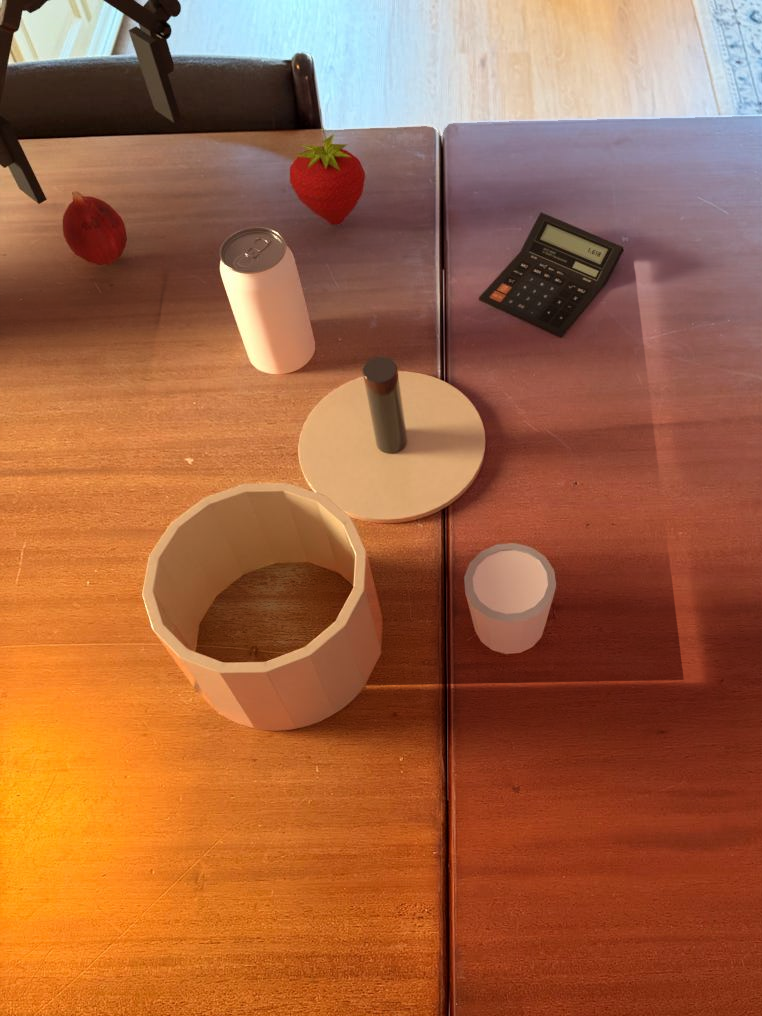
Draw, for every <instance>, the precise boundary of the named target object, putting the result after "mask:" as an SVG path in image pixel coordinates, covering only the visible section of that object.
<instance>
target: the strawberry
mask: <svg viewBox="0 0 762 1016" xmlns="http://www.w3.org/2000/svg"><path fill="white" fill-rule="evenodd" d="M321 129H322V134H323V137H324V140H323V142H322V144H323V146H321V145H311V144H302V145H301V146H302V148H305V149H307V150H305V151H304V152H301V153H298V154H296V158H295V159H294V160H293V162H292V163H291V164H290V166H289V183H290V186H291V188H292V189H293V191H294V192H295V194H296V196H297V197H298V199H299V201H301V203H303V204H304V205H305V206H306V207H307V208H308V209H309V210H310V211H312V212H313V213H314V214H316V216H318V217H320V218H322V219H323V220H325V221H326V222H327V223H328V224H329V225H332V226H339V225H342V224H343V223H344V221H345V220H346V218H347V217H348V216H349V215H350V214H351V213H352V212H353V210H355V207H356V206H357V205H358V202H359V201H360V199H361V197H362V196H363V192H364V186H365V181H366V172H365V170H364V167H363V164H362V162H361V160H360V159H359V158H358V157H357V156H355V155H354V154H353V153H351V152H350V151H348V150H346V149H344V148H345V147H347V146H348V144H347V143H345V144H344V143H343V144H342V143H333V141H334V136H335V133H333V134H331V135H329V137H327V136H326V132H325V129H324V127H323V126H322V127H321Z"/></svg>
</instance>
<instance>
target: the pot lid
mask: <svg viewBox="0 0 762 1016" xmlns="http://www.w3.org/2000/svg"><path fill="white" fill-rule="evenodd" d="M361 371H362V376H359V377H357V378H354V379H352V380H348V381H347V382H345V383H343V384H341V385H339V386H338V387H336V388H334V389H333V390H332V391H330V392H329V393H328V394H326V395H325V396H324V397H323V398H322V399H321V400H320V401H319V402H318V403H317V404H316V405H315V406H314V407H313V409H312V410H311V412H310V413H309V414H308V416H307V418H306V419H305V421H304V423H303V426H302V428H301V431H300V434H299V440H298V445H297V446H298V447H297V449H298V450H297V453H298V454H297V455H298V461H299V466H300V469H301V472H302V476H303V477H304V480H305V482H306V484H307V486H308V487H309V488H310V489H311V491H314V492H317V493H320V494H323V495H325V496H326V497H327V498H328V499H330V500H331V501H332V502H333V503H334V504H335V505H337V506H338V507H339V508H340V509H341V510H342V511H344V512H345V513H346V514H347V515H348V516H349V517H351V518H352V519H356V520H359V521H363V522H366V523H367V522H369V523H375V524H398V523H405V522H412V521H416V520H419V519H423V518H426V517H428V516H432V515H433V514H436V513H438V512H440V511H441V510H444V509H446V508H447V507H448V506H450V505H451V504H453V503H454V502H455V501H457V500H458V499H459V498H460V497H461V496H463V494H465V493H466V492H467V490H468V489H469V488H470V487H471V486H472V485H473V483H474V481H475V480H476V478H477V476H479V473H480V471H481V469H482V466H483V463H484V460H485V455H486V445H487V441H486V431H485V426H484V423H483V420H482V418H481V415H480V414H479V411H478V410H477V408H476V407H475V405H474V404H473V403H472V401H471V400H470V399H469V398H468V397H467V396H466V394H464V393H462V391H460V390H459V389H458V388H456V387H454V386H453V385H452V384H450V383H449V382H446V381H445V380H442V379H440V378H437V377H434V376H432V375H429V374H425V373H421V372H417V371H416V372H414V371H405V370H399V369H398V365H397V363H396V362H395V360H393V359H392V358H390V357H388V356H374V357H371V358H369V359H368V360H367V361H366V362H365V363H364V365H363V366H362V370H361Z"/></svg>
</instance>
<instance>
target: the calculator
mask: <svg viewBox="0 0 762 1016" xmlns="http://www.w3.org/2000/svg"><path fill="white" fill-rule="evenodd" d="M624 251H625V249H624V247H623V246H622V245H620V244H617V243H615V242H613V241H610V240H608V239H605V238H603V237H601V236H598V235H596V234H594V233H591V232H589V231H586V230H584V229H583V228H579V227H578V226H575V225H572V224H570V223H568V222H565V221H563V220H561V219H558V218H557V217H553V216H552V215H549V214H546V213H545V212H542V211H540V213H539V215H538V216H537V218H536V220H535V222H534V224H533V226H532V228H531V230H530V231H529V233H528V236H527V237H526V240H525V241H524V243H523V245H522V247H521V249H520V251H519V252H518V254H516V256H514V258H513V259H512V261H511V262H509V264H508V265H507V266H506V267H505V268H504V269H503V270H502V271H501V272H500V273H499V275H498V276H497V277H496V278H495V279H494V280H493V281H492V282H491V284H490V285H489V286H488V287H487V288H486V289H485V290H484V291H483V292H482V293H481V294H480V296H479V297H478V301H481V302H483V303H485V304H487V305H489V306H491V307H493V308H496V309H498V310H500V311H502V312H504V313H506V314H509V315H511V316H513V317H515V318H517V319H519V320H521V321H524V322H526V323H528V324H530V325H533V326H534V327H537V328H539V329H541V330H543V331H545V332H548V333H550V334H552V335H554V336H556V337H558V338H560V339H561V338H563V337H564V335H565V334H566V333H567V332H568V330H569V329H570V328H571V327H572V326H573V324H574V323H575V322H576V321H577V320H578V318H580V316H581V315H582V314H583V312H584V311H585V310H586V309H587V308H588V306H589V305H590V304H591V303H592V302H593V300H594V299H595V298H596V297H597V296H598V294H599V293H600V292H601V290H602V289H603V288H605V286H606V285H607V283H608V281H609V279H610V277H611V276H612V274H613V272H614V270H615V268H616V266H617V264H618V262H619V261H620V258H622V255H623V253H624Z"/></svg>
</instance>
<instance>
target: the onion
mask: <svg viewBox="0 0 762 1016" xmlns="http://www.w3.org/2000/svg"><path fill="white" fill-rule="evenodd" d="M71 195H72V201H71V202H70V203H69V205H68V206H67V207H66V209H65V211H64V213H63V215H62V235H63V238H64V240H65V242H66V244H67V245H68V247H69V249H70V250H71V251H72V253H73V254H74V255H75V256H77V257H78V258H81V259H82V260H84V261H85V262H87V263H89V264H94V265H99V266H107V265H110V264H112V263H114V262H115V261H116V260H118V259H119V258H120V257H121V256H122V254H123V253H124V251H125V249H126V247H127V243H128V236H127V229H126V224H125V222H124V220H123V218H122V216H120V214H119V213H118V212H117V211H116V210H115V208H114V207H112V205H110V204H108V203H107V202H106V201H104V200H102V199H100V198H97V197H94V196H89V195H88V196H87V195H82V194H81V193H80V192H79V191H77V190H75V191H72V192H71Z"/></svg>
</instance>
